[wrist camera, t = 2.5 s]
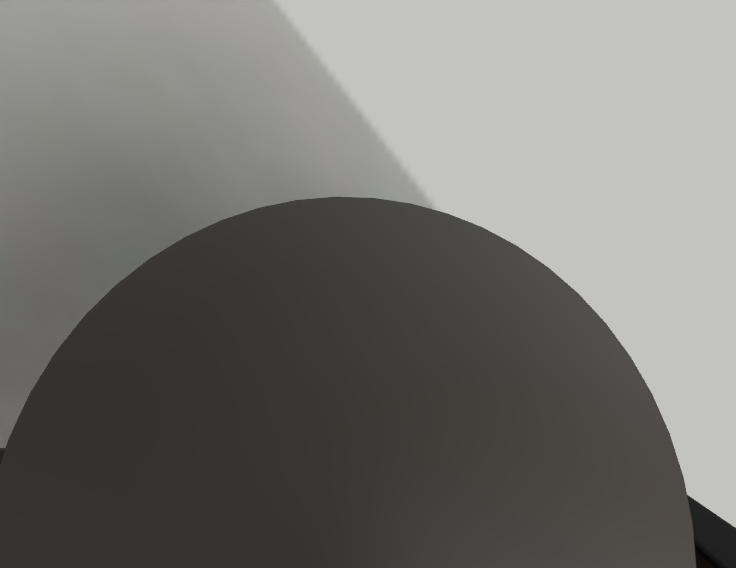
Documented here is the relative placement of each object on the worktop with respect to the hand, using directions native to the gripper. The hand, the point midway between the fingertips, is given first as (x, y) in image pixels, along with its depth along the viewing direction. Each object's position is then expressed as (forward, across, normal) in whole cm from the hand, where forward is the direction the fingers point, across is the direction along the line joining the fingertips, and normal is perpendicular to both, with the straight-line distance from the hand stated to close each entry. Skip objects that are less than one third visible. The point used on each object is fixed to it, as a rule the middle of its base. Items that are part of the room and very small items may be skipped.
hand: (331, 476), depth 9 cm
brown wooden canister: (+5, 0, +6) cm, 8 cm away
